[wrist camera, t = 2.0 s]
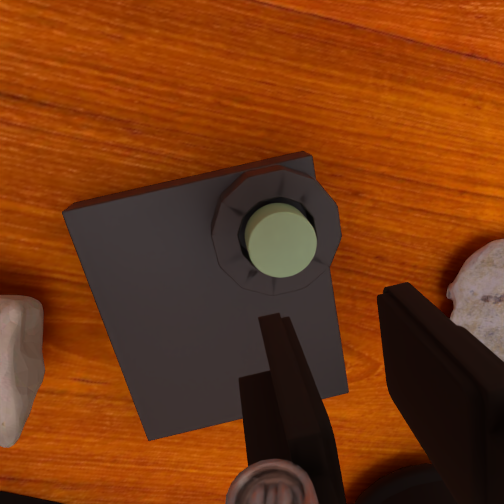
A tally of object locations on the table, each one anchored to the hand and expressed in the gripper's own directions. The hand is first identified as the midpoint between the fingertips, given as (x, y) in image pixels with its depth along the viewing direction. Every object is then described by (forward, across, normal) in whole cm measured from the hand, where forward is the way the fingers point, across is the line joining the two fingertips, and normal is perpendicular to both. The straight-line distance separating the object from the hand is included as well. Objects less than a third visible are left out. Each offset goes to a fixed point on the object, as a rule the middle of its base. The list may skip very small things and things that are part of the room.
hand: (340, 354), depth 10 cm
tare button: (+10, 0, 0) cm, 10 cm away
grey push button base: (+13, +4, +4) cm, 14 cm away
